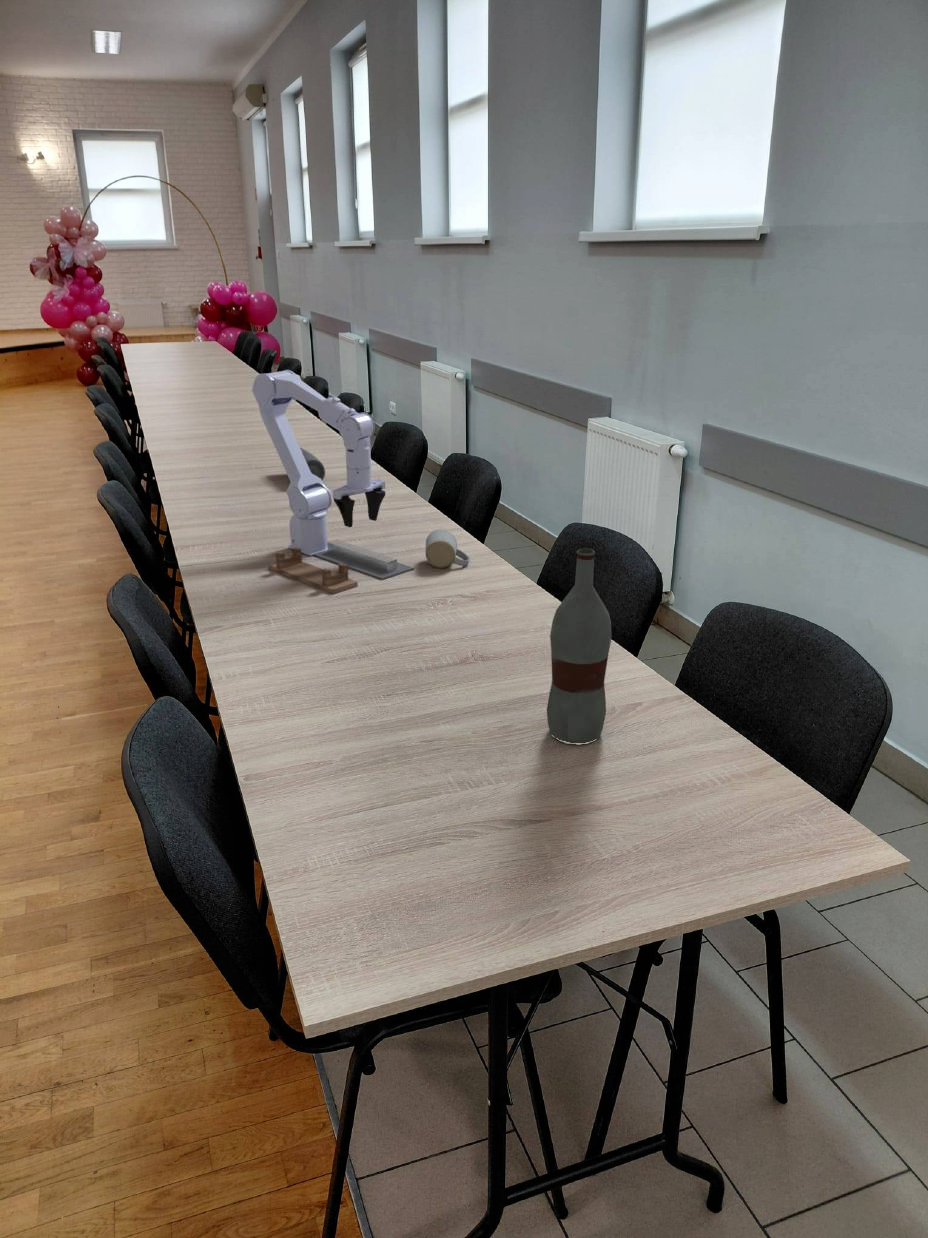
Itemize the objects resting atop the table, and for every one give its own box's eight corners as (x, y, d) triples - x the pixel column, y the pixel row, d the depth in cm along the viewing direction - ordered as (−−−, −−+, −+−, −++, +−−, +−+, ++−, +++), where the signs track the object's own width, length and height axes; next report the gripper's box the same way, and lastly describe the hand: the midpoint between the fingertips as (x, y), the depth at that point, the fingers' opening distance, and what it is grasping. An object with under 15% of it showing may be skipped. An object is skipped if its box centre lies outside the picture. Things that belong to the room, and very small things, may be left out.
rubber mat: (306, 553, 223) (306, 551, 223) (337, 544, 230) (337, 542, 230) (382, 579, 205) (382, 578, 205) (413, 569, 212) (413, 567, 212)
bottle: (567, 712, 147) (576, 537, 136) (615, 730, 142) (630, 549, 130) (534, 734, 141) (541, 552, 129) (583, 754, 135) (596, 565, 124)
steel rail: (327, 551, 223) (327, 542, 222) (337, 549, 225) (336, 539, 224) (387, 572, 209) (387, 562, 208) (397, 569, 211) (396, 559, 210)
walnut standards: (268, 568, 212) (267, 550, 210) (292, 561, 217) (291, 544, 215) (333, 593, 197) (332, 574, 195) (357, 585, 202) (356, 567, 200)
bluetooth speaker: (280, 475, 299) (278, 445, 295) (307, 472, 303) (306, 443, 299) (298, 490, 280) (296, 459, 276) (327, 487, 284) (326, 456, 280)
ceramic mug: (425, 569, 212) (425, 538, 209) (425, 558, 220) (425, 528, 217) (469, 570, 212) (470, 539, 209) (468, 559, 220) (469, 529, 217)
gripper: (345, 474, 202) (347, 532, 207) (393, 464, 212) (394, 520, 217) (325, 469, 207) (328, 526, 212) (373, 459, 216) (375, 514, 222)
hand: (360, 522), depth 215 cm, fingers open, 7 cm apart
